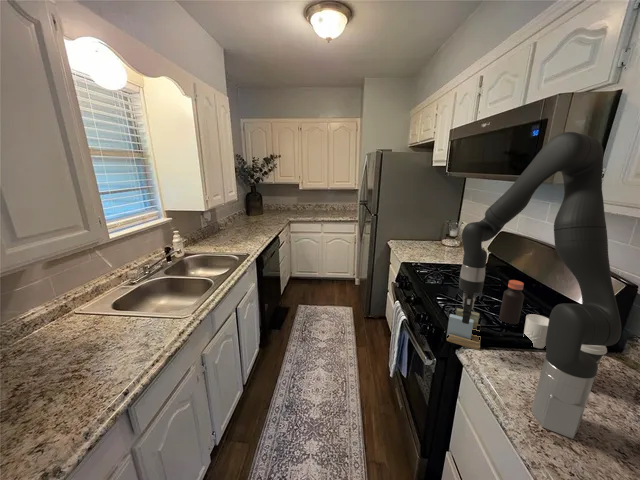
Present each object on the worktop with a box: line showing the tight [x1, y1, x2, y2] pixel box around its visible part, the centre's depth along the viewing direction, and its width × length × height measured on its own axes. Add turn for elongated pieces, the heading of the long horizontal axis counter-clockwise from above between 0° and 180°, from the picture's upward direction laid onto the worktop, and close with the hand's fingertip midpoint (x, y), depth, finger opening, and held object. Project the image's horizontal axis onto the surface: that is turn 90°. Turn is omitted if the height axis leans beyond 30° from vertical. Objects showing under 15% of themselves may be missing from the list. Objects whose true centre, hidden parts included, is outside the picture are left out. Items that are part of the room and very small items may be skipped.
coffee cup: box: [581, 345, 608, 365], centre depth 80 cm, size 10×10×15 cm
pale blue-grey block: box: [446, 313, 474, 340], centre depth 100 cm, size 2×8×9 cm, turn 58°
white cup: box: [523, 313, 549, 349], centre depth 98 cm, size 8×8×10 cm
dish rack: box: [446, 307, 481, 352], centre depth 103 cm, size 14×11×9 cm
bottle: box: [498, 279, 525, 325], centre depth 108 cm, size 7×7×20 cm
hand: (466, 317), depth 97 cm, fingers open, 8 cm apart
